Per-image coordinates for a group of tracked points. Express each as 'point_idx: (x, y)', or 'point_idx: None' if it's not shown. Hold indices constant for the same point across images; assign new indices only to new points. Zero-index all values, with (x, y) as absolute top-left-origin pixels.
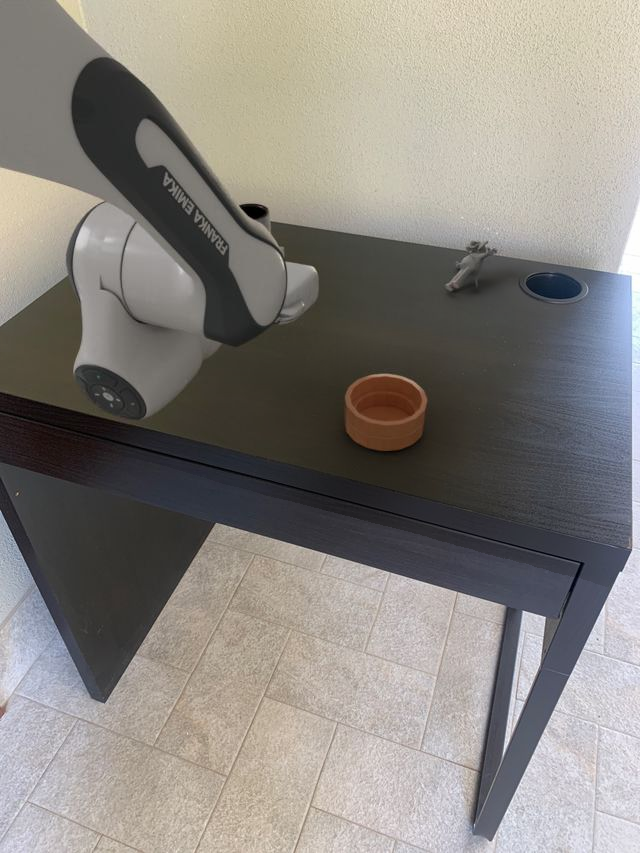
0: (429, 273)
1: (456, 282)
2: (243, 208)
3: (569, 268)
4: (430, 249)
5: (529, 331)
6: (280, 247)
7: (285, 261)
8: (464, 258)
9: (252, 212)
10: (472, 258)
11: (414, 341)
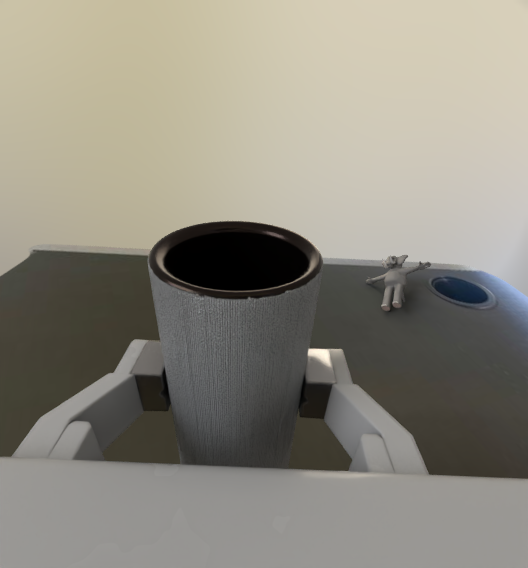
0: (348, 292)
1: (399, 302)
2: (197, 240)
3: (449, 271)
4: (327, 267)
5: (508, 350)
6: (339, 354)
7: (512, 484)
8: (389, 275)
9: (226, 251)
10: (399, 274)
11: (419, 399)
